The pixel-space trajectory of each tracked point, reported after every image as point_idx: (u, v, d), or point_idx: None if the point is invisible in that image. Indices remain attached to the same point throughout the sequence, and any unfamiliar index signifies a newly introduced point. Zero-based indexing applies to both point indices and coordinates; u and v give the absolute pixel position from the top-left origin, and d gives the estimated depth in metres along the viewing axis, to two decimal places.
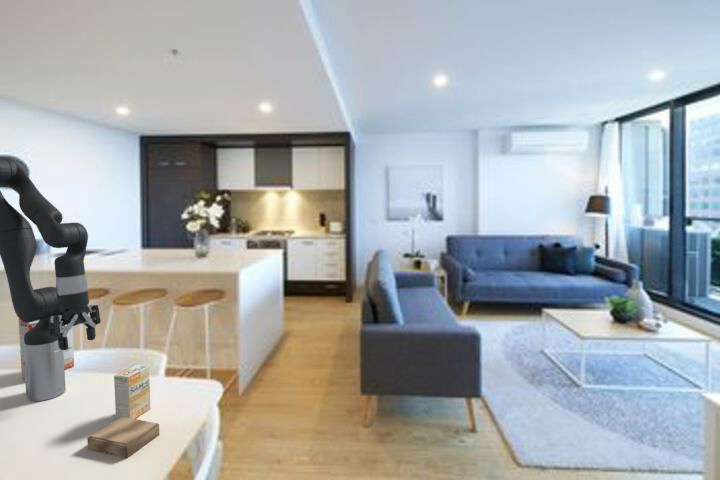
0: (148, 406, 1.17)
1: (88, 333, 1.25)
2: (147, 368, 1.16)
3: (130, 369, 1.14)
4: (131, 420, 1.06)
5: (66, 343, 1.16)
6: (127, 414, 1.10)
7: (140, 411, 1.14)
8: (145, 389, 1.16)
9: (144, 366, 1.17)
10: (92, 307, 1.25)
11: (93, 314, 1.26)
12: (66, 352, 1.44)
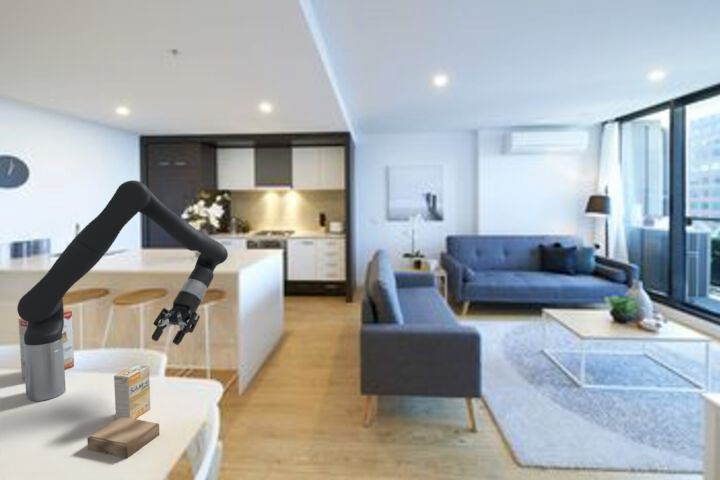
0: (148, 406, 1.17)
1: (157, 333, 1.26)
2: (147, 368, 1.16)
3: (130, 369, 1.14)
4: (131, 420, 1.06)
5: None
6: (127, 415, 1.10)
7: (140, 411, 1.14)
8: (145, 389, 1.16)
9: (144, 366, 1.17)
10: None
11: (163, 318, 1.30)
12: (66, 352, 1.44)
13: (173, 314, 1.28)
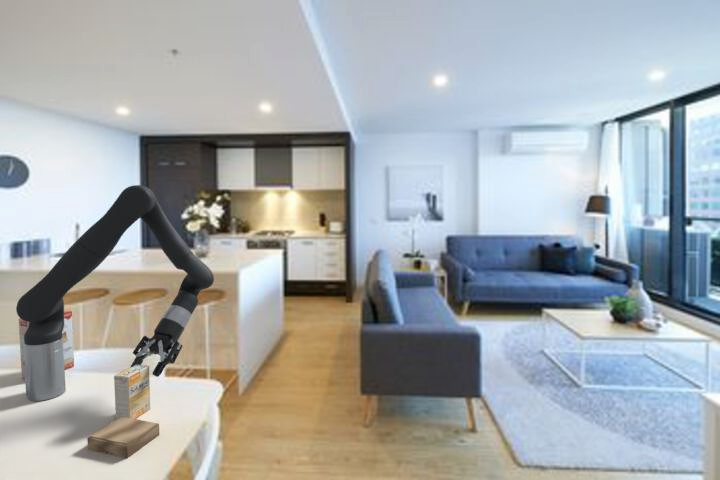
0: (148, 406, 1.17)
1: (137, 363, 1.20)
2: (147, 368, 1.16)
3: (130, 369, 1.14)
4: (131, 420, 1.06)
5: None
6: (127, 415, 1.10)
7: (140, 411, 1.14)
8: (145, 389, 1.16)
9: (144, 366, 1.17)
10: None
11: (144, 346, 1.24)
12: (66, 352, 1.44)
13: (154, 343, 1.22)
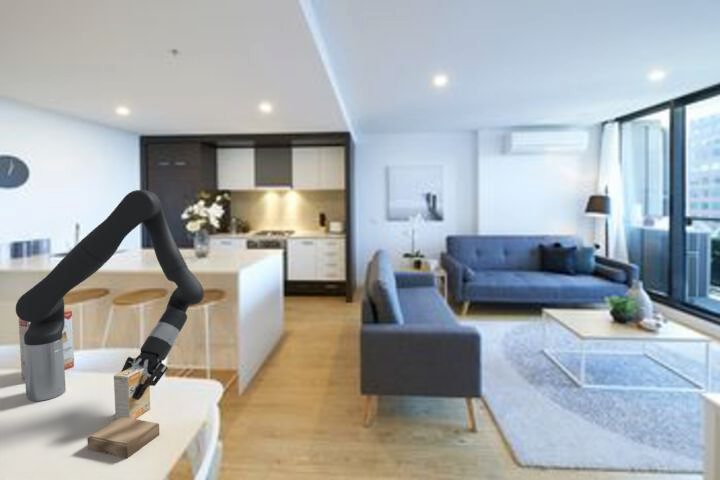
0: (148, 406, 1.17)
1: None
2: None
3: (130, 369, 1.14)
4: (131, 420, 1.06)
5: None
6: (127, 414, 1.10)
7: (140, 411, 1.14)
8: None
9: None
10: None
11: None
12: (66, 352, 1.44)
13: (140, 362, 1.17)
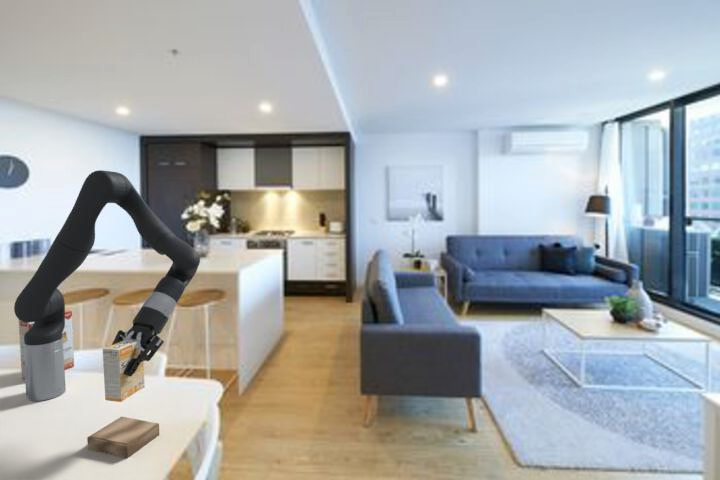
0: (142, 384, 1.05)
1: None
2: None
3: (121, 342, 1.02)
4: (131, 420, 1.06)
5: None
6: (118, 393, 0.98)
7: (132, 390, 1.02)
8: None
9: None
10: None
11: None
12: (66, 352, 1.44)
13: (133, 335, 1.04)
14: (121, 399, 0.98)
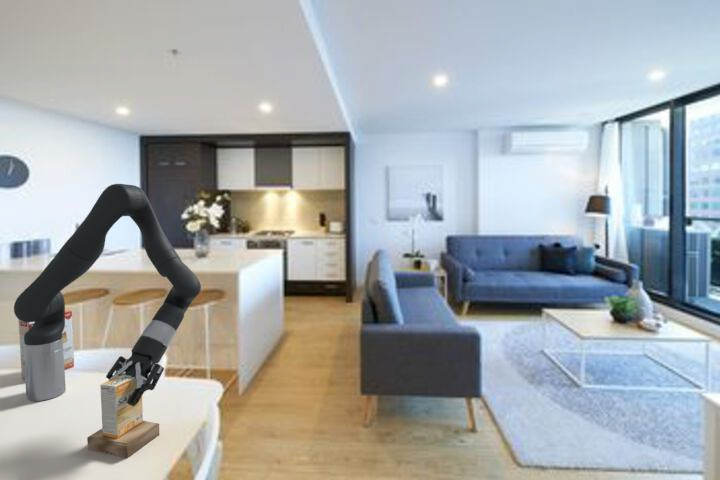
0: (140, 419, 1.05)
1: None
2: None
3: (120, 377, 1.02)
4: None
5: None
6: (115, 429, 0.98)
7: (130, 425, 1.01)
8: None
9: None
10: None
11: (119, 368, 1.07)
12: (66, 352, 1.44)
13: (131, 365, 1.04)
14: (117, 435, 0.98)
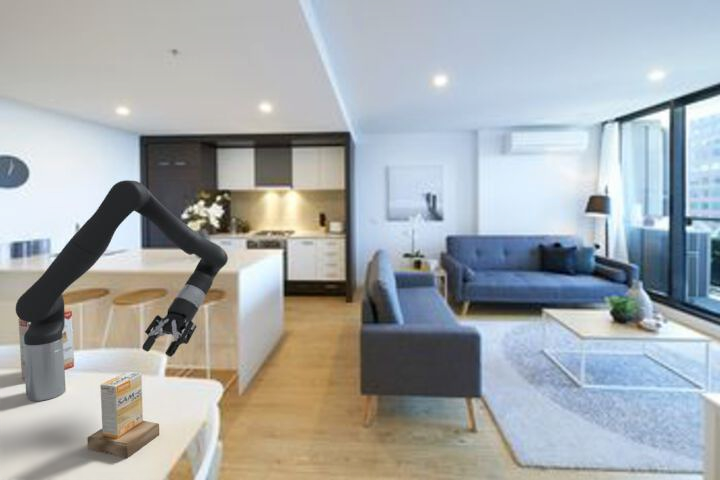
0: (140, 419, 1.05)
1: (149, 343, 1.16)
2: (139, 376, 1.04)
3: (120, 377, 1.02)
4: None
5: None
6: (115, 429, 0.98)
7: (130, 425, 1.01)
8: (136, 400, 1.03)
9: (136, 374, 1.04)
10: None
11: (156, 326, 1.20)
12: (66, 352, 1.44)
13: (167, 322, 1.18)
14: (117, 435, 0.98)
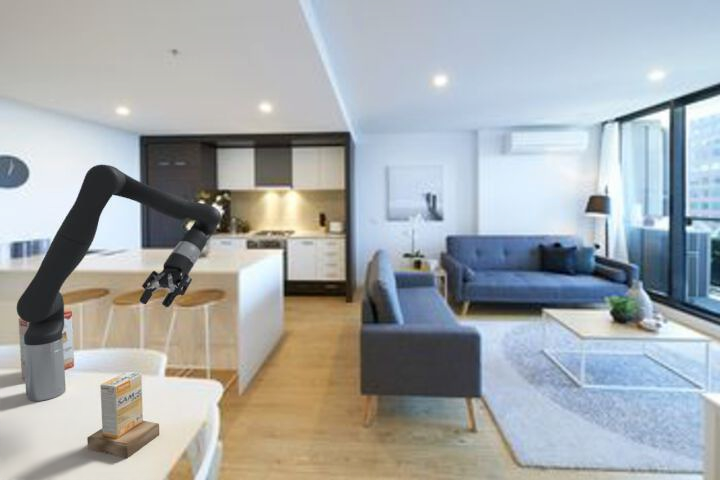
0: (140, 419, 1.05)
1: (146, 295, 1.19)
2: (139, 376, 1.04)
3: (120, 377, 1.02)
4: None
5: None
6: (115, 429, 0.98)
7: (130, 425, 1.01)
8: (136, 400, 1.03)
9: (136, 374, 1.04)
10: None
11: (153, 281, 1.23)
12: (66, 352, 1.44)
13: (163, 276, 1.21)
14: (117, 435, 0.98)
